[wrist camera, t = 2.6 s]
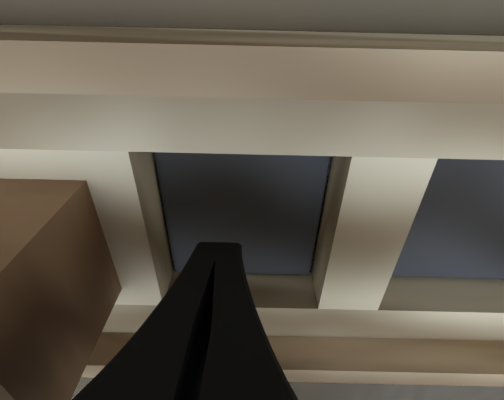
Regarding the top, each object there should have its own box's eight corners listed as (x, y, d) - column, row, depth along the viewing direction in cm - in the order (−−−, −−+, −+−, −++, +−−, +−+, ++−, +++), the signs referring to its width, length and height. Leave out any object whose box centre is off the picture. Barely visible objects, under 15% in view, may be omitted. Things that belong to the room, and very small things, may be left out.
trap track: (501, 316, 16) (556, 387, 13) (-104, 303, 16) (-184, 371, 13) (715, 40, 9) (943, 61, 6) (-388, 15, 9) (-710, 23, 6)
